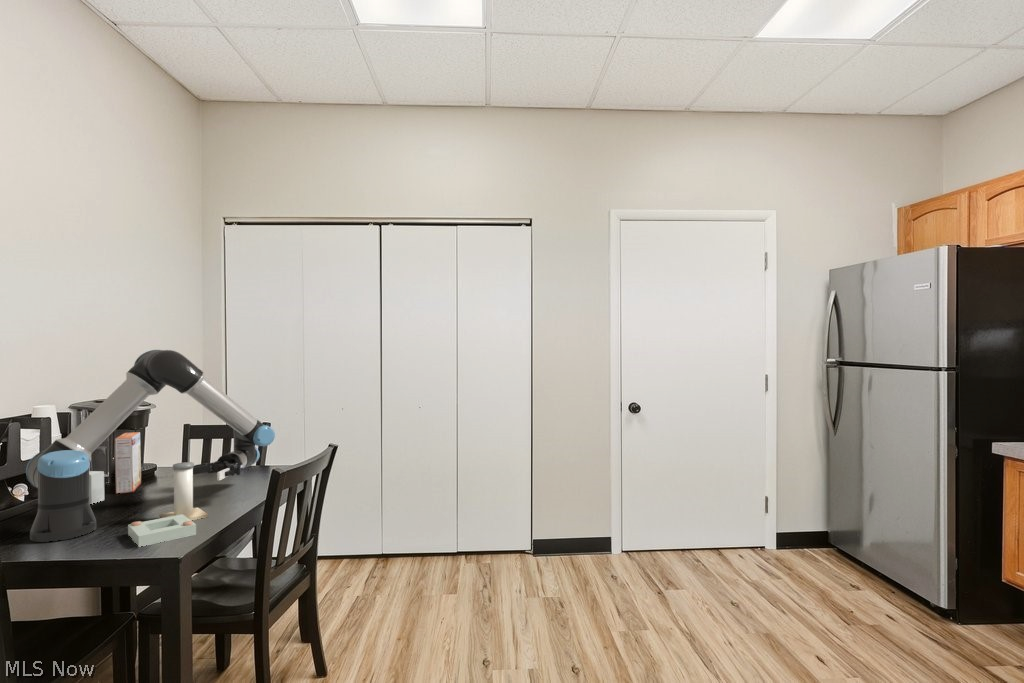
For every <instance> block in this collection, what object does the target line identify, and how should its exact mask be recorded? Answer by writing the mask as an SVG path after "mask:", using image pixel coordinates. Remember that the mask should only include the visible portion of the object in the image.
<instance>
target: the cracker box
mask: <svg viewBox="0 0 1024 683" xmlns="http://www.w3.org/2000/svg"><path fill="white" fill-rule="evenodd" d="M141 454H142V453H141V432H140V431H136V432H124V433H122V434H121V435H119V436H117V437H116V438H114V458H115V459H114V461H115V462H114V463H115V464H114V465H115V470H114V471H115V494H118V493H120V494H127V493H134V492H135V491H136V489H137V488H139V486H140V485H141V484H142V468H141V467H142V464H141V461H142V460H141V458H142V457H141Z"/></svg>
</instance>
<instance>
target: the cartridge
mask: <svg viewBox="0 0 1024 683" xmlns="http://www.w3.org/2000/svg"><path fill="white" fill-rule="evenodd" d="M194 465H195V462H192V461H191V462H190V461H188V462H186V461H185V462H177V463H174V464H172V470H173V508H174V509H173V512H174V516H176V515H181V514H183V515H184V516H188V515H191V514H193V508H194V475H193V467H194Z"/></svg>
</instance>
